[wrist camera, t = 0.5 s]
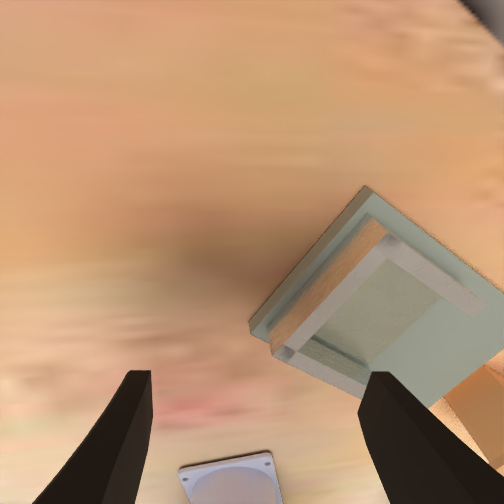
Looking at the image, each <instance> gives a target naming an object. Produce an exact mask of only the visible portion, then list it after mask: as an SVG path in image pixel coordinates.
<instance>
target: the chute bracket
mask: <svg viewBox="0 0 504 504" xmlns="http://www.w3.org/2000/svg"><path fill="white" fill-rule="evenodd" d="M441 297H443V298H445V299H446V300H448V301H449V302H451V303H452V304H453V305H455V306H456V307H458V308H459V309H461V310H462V311H463V312H465V313H466V314H468V315H469V316H471V317H472V318H474V317H475V316H476V315H477V314H478V313H480V312H481V311H482V310H483V309H484V308H485V307H487V305H486V304H485V303H484V302H483V301H482V300H480V299H479V298H478V297H477V296H476V295H475V294H473V293H472V292H471V291H470V290H469V289H468V288H466V287H465V286H464V285H463V284H462V283H461V282H460V281H458V280H457V279H456V278H454V277H453V276H452V275H450V274H449V273H448V272H446V271H445V270H444V269H442V268H441V267H440V266H438V265H437V264H436V263H434V262H433V261H432V260H430V259H429V258H428V257H426V256H425V255H424V254H422V253H421V252H419V251H418V250H417V249H415V248H414V247H413V246H411V245H410V244H409V243H407V242H406V241H405V240H403V239H402V238H401V237H399V236H398V235H397V234H395V233H394V232H393V231H391V230H390V229H389V228H387V227H386V226H385V225H383V224H382V223H381V222H379V221H378V220H377V219H375V218H374V217H373V216H371V215H370V214H369V213H366V214H365V216H364V217H363V218H362V219H361V220H360V221H359V222H358V223H357V225H356V226H355V227H354V228H353V229H352V230H351V231H350V232H349V234H348V235H347V236H346V237H345V238H344V239H343V240H342V242H341V243H340V244H339V245H338V246H337V247H336V248H335V249H334V251H333V252H332V253H331V254H330V255H329V256H328V257H327V259H326V260H325V261H324V262H323V263H322V264H321V265H320V266H319V268H318V269H317V270H316V271H315V272H314V273H313V274H312V275H311V277H310V278H309V279H308V280H307V281H306V282H305V283H304V285H303V286H302V287H301V288H300V289H299V290H298V291H297V292H296V294H295V295H294V296H293V297H292V298H291V299H290V300H289V301H288V303H287V304H286V305H285V306H284V307H283V308H282V309H281V311H280V312H279V313H278V314H277V315H276V316H275V317H274V318H273V320H272V321H271V322H270V323H269V324H268V325H267V326H266V327H267V333H268V338H269V343H270V348H271V353H272V356H273V357H275V358H277V359H279V360H281V361H283V362H285V363H287V364H289V365H291V366H294V367H296V368H298V369H300V370H302V371H304V372H306V373H308V374H310V375H312V376H314V377H316V378H318V379H321V380H323V381H325V382H327V383H329V384H331V385H333V386H335V387H337V388H339V389H341V390H343V391H345V392H347V393H350V394H352V395H354V396H356V397H358V398H360V399H362V398H363V395H364V392H365V390H366V387H367V384H368V381H369V378H370V375H371V370H370V368H369V366H368V364H369V363H370V362H372V361H373V360H374V359H375V358H376V357H377V356H378V355H379V354H380V353H381V352H382V351H384V350H385V349H386V348H387V347H388V346H389V345H390V344H391V343H392V342H393V341H394V340H396V339H397V338H398V337H399V336H400V335H401V334H402V333H403V332H404V331H405V330H406V329H408V328H409V327H410V326H411V325H412V324H413V323H414V322H415V321H416V320H417V319H418V318H420V317H421V316H422V315H423V314H424V313H425V312H426V311H427V310H428V309H429V308H430V307H432V306H433V305H434V304H435V303H436V302H437V301H438V300H439V299H440V298H441ZM313 334H314V335H316V336H318V337H320V338H322V339H324V340H326V341H327V342H329V343H331V344H333V345H335V346H337V347H339V348H341V349H342V350H344V351H346V352H348V353H350V354H352V355H354V356H355V357H357V358H359V359H361V360H363V361H365V362H367V363H368V364H366V363H364V362H362V361H360V360H358V359H357V358H355V357H353V356H351V355H349V354H347V353H345V352H343V351H342V350H340V349H338V348H336V347H334V346H332V345H330V344H329V343H327V342H325V341H323V340H321V339H319V338H317V337H315V336H314V335H313Z"/></svg>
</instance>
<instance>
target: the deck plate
mask: <svg viewBox="0 0 504 504" xmlns="http://www.w3.org/2000/svg"><path fill="white" fill-rule="evenodd" d="M366 213H369V214H370V215H371V216H373V217H374V218H375V219H377V220H378V221H379V222H381V223H382V224H383V225H385V226H386V227H387V228H389V229H390V230H391V231H393V232H394V233H395V234H397V235H398V236H399V237H401V238H402V239H403V240H405V241H406V242H407V243H409V244H410V245H411V246H413V247H414V248H415V249H417V250H418V251H419V252H421V253H422V254H424V255H425V256H426V257H428V258H429V259H430V260H432V261H433V262H434V263H436V264H437V265H438V266H440V267H441V268H442V269H444V270H445V271H446V272H448V273H449V274H450V275H452V276H453V277H454V278H456V279H457V280H458V281H460V282H461V283H462V284H463V285H464V286H465V287H466V288H468V289H469V290H470V291H471V292H472V293H473V294H475V295H476V296H477V297H478V298H479V299H480V300H482V301H483V302H484V303H485V304H486V305H487V307H485V308H484V309H483V310H482V311H481V312H480V313H478V314H477V315H476V316H475V317H474V318H472V317H471V316H469V315H468V314H466V313H465V312H463V311H462V310H461V309H459V308H458V307H456V306H455V305H453V304H452V303H451V302H449V301H448V300H446V299H445V298H443V297H441V298H440V299H439V300H438V301H437V302H436V303H435V304H434V305H433V306H432V307H430V308H429V309H428V310H427V311H426V312H425V313H424V314H423V315H422V316H421V317H420V318H418V319H417V320H416V321H415V322H414V323H413V324H412V325H411V326H410V327H409V328H408V329H406V330H405V331H404V332H403V333H402V334H401V335H400V336H399V337H398V338H397V339H396V340H394V341H393V342H392V343H391V344H390V345H389V346H388V347H387V348H386V349H385V350H384V351H382V352H381V353H380V354H379V355H378V356H377V357H376V358H375V359H374V360H373V361H372V362H370V363H369V364H368V363H367V362H365V361H363V360H361V359H359V358H357V357H355V356H354V355H352V354H350V353H348V352H346V351H344V350H342V349H341V348H339V347H337V346H335V345H333V344H331V343H329V342H327V341H326V340H324V339H322V338H320V337H318V336H316V335H314V334H313V335H314V336H315V337H317V338H319V339H321V340H323V341H325V342H327V343H329V344H330V345H332V346H334V347H336V348H338V349H340V350H342V351H343V352H345V353H347V354H349V355H351V356H353V357H355V358H357V359H358V360H360V361H362V362H364V363H366V364H368V366H369V368H370V370H371V372H372V371H389V372H390V373H391V374H392V375H394V376H395V377H396V378H397V379H398V380H399V381H400V382H401V383H402V384H403V385H404V386H405V387H406V388H407V389H408V390H409V391H410V392H411V393H412V394H413V395H414V396H415V397H416V398H417V399H418V400H419V401H420V402H421V403H422V404H423V405H424V406H425V407H426V408H427V409H428V408H429V407H430V406H432V405H433V404H434V403H435V402H437V401H438V400H439V399H440V398H442V397H443V396H444V395H446V394H447V393H448V392H449V391H451V390H452V389H453V388H454V387H456V386H457V385H458V384H459V383H461V382H462V381H463V380H465V379H466V378H467V377H468V376H470V375H471V374H472V373H473V372H475V371H476V370H477V369H478V368H480V367H481V366H482V365H484V364H485V363H486V362H487V361H489V360H490V359H491V358H492V357H494V356H495V355H496V354H497V353H499V352H500V351H501V350H502V349H504V294H503V293H502V292H501V291H499V290H498V289H497V288H496V287H494V286H493V285H492V284H490V283H489V282H488V281H487V280H485V279H484V278H483V277H482V276H480V275H479V274H478V273H476V272H475V271H474V270H473V269H471V268H470V267H469V266H467V265H466V264H465V263H464V262H462V261H461V260H460V259H459V258H457V257H456V256H455V255H453V254H452V253H451V252H450V251H448V250H447V249H446V248H445V247H443V246H442V245H441V244H439V243H438V242H437V241H436V240H434V239H433V238H432V237H430V236H429V235H428V234H427V233H425V232H424V231H423V230H422V229H420V228H419V227H418V226H416V225H415V224H414V223H413V222H411V221H410V220H409V219H407V218H406V217H405V216H404V215H402V214H401V213H400V212H399V211H397V210H396V209H395V208H393V207H392V206H391V205H390V204H388V203H387V202H386V201H384V200H383V199H382V198H381V197H379V196H378V195H377V194H376V193H374V192H373V191H372V190H370V189H369V188H368V187H366V186H364V187H363V188H362V190H361V191H360V192H359V193H358V194H357V195H356V197H355V198H354V199H353V200H352V201H351V202H350V204H349V205H348V206H347V207H346V208H345V209H344V211H343V212H342V213H341V214H340V215H339V217H338V218H337V219H336V220H335V221H334V222H333V224H332V225H331V226H330V227H329V228H328V229H327V231H326V232H325V233H324V234H323V235H322V236H321V238H320V239H319V240H318V241H317V242H316V243H315V245H314V246H313V247H312V248H311V249H310V251H309V252H308V253H307V254H306V255H305V256H304V258H303V259H302V260H301V261H300V262H299V263H298V265H297V266H296V267H295V268H294V269H293V270H292V272H291V273H290V274H289V275H288V276H287V277H286V279H285V280H284V281H283V282H282V283H281V284H280V286H279V287H278V288H277V289H276V290H275V292H274V293H273V294H272V295H271V296H270V297H269V299H268V300H267V301H266V302H265V303H264V304H263V306H262V307H261V308H260V309H259V310H258V311H257V313H256V314H255V315H254V316H253V317H252V318H251V320H250V321H249V327H250V334H251V335H253V336H255V337H257V338H259V339H261V340H263V341H265V342H267V343H269V338H268V333H267V327H266V326H267V325H268V324H269V323H270V322H271V321H272V320H273V318H274V317H275V316H276V315H277V314H278V313H279V312H280V311H281V309H282V308H283V307H284V306H285V305H286V304H287V303H288V301H289V300H290V299H291V298H292V297H293V296H294V295H295V294H296V292H297V291H298V290H299V289H300V288H301V287H302V286H303V285H304V283H305V282H306V281H307V280H308V279H309V278H310V277H311V275H312V274H313V273H314V272H315V271H316V270H317V269H318V268H319V266H320V265H321V264H322V263H323V262H324V261H325V260H326V259H327V257H328V256H329V255H330V254H331V253H332V252H333V251H334V249H335V248H336V247H337V246H338V245H339V244H340V243H341V242H342V240H343V239H344V238H345V237H346V236H347V235H348V234H349V232H350V231H351V230H352V229H353V228H354V227H355V226H356V225H357V223H358V222H359V221H360V220H361V219H362V218H363V217H364V216H365V214H366ZM269 344H270V343H269Z"/></svg>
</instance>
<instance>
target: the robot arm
mask: <svg viewBox="0 0 504 504" xmlns="http://www.w3.org/2000/svg"><path fill="white" fill-rule="evenodd" d="M357 413H358V417H359V421H360V425H361V428H362V432H363V435H364V439H365V442H366V445H367V448H368V450H369V453H370V455H371V458H372V460H373V463H374V465H375V468H376V470H377V473H378V475H379V477H380V480H381V482H382V485H383V487H384V489H385V492H386V494H387V497H388V499H389V502H390V504H504V476H502V475H501V474H500V473H499V472H497V471H496V470H495V469H494V468H493V467H491V466H490V465H489V464H488V463H486V462H485V461H484V460H483V459H482V458H481V457H480V456H478V455H477V454H476V453H475V452H474V451H473V450H472V449H470V448H469V447H468V446H467V445H466V444H465V443H464V442H462V441H461V440H460V439H459V438H458V437H457V436H456V435H455V434H454V433H453V432H451V431H450V430H449V429H448V428H447V427H446V426H445V425H444V424H443V423H442V422H441V421H440V420H439V419H438V418H437V417H436V416H434V415H433V414H432V413H431V412H430V411H429V410H428V409H427V408H426V407H425V406H424V405H423V404H422V403H421V402H420V401H419V400H418V399H417V398H416V397H415V396H414V395H413V394H412V393H411V392H410V391H409V390H408V389H407V388H406V387H405V386H404V385H403V384H402V383H401V382H400V381H399V380H398V379H397V378H396V377H395V376H394V375H392V374H391V373H390V372H389V371H372V372H371V375H370V378H369V381H368V384H367V387H366V390H365V392H364V395H363V398H362V401H361V404H360V407H359V410H358V412H357ZM152 419H153V405H152V384H151V370H130V371H129V372H128V373H127V374H126V376H125V378H124V379H123V381H122V383H121V385H120V386H119V388H118V390H117V391H116V393H115V395H114V396H113V398H112V399H111V401H110V402H109V404H108V406H107V407H106V409H105V410H104V412H103V413H102V415H101V416H100V417H99V419H98V420H97V422H96V423H95V425H94V426H93V427H92V429H91V430H90V432H89V433H88V435H87V436H86V437H85V439H84V440H83V441H82V443H81V444H80V445H79V447H78V448H77V449H76V451H75V452H74V453H73V454H72V456H71V457H70V458H69V460H68V461H67V462H66V464H65V465H64V466H63V467H62V469H61V470H60V471H59V472H58V474H57V475H56V476H55V477H54V478H53V480H52V481H51V482H50V483H49V484H48V486H47V487H46V488H45V489H44V490H43V492H42V493H41V494H40V495H39V496H38V497H37V498H36V500H35V501H34V502H33V503H32V504H135V500H136V496H137V492H138V488H139V484H140V480H141V476H142V472H143V468H144V464H145V460H146V456H147V452H148V446H149V439H150V433H151V426H152ZM178 477H179V480H180V482H181V484H182V486H183V488H184V490H185V492H186V494H187V496H188V499H189V501H190V503H191V504H283V501H282V497H281V493H280V488H279V484H278V480H277V475H276V471H275V466H274V462H273V458H272V455H271V454H270V453H261V454H256V455H250V456H245V457H240V458H234V459H229V460H224V461H219V462H213V463H208V464H203V465H197V466H192V467H187V468H182V469H180V470H179V471H178Z"/></svg>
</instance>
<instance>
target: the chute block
mask: <svg viewBox="0 0 504 504" xmlns="http://www.w3.org/2000/svg"><path fill="white" fill-rule="evenodd" d="M443 397H444V398H445V399H446V401H447V402H448V404H449V405H450V407H451V408H452V410H453V411H454V412H455V414H456V415H457V417H458V418H459V420H460V421H461V422H462V424H463V425H464V427H465V428H466V430H467V431H468V432H469V434H470V435H471V437H472V438H473V440H474V441H475V442H476V444H477V445H478V447H479V448H480V450H481V451H482V453H483V454H484V455H485V457H486V458H487V460H488V461H489V465H490V466H491V467H493V468H494V469H495V470H496V471H497V472H499V473H500V474H501V475H502V476H504V377H503V376H501V375H500V374H498V373H496V372H495V371H493V370H492V369H490V368H489V367H487V366H486V365H482V366H481V367H480V368H478V369H477V370H476V371H475V372H473V373H472V374H471V375H470V376H468V377H467V378H466V379H465V380H463V381H462V382H461V383H459V384H458V385H457V386H456V387H454V388H453V389H452V390H451V391H449V392H448V393H447V394H446V395H444V396H443Z"/></svg>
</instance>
